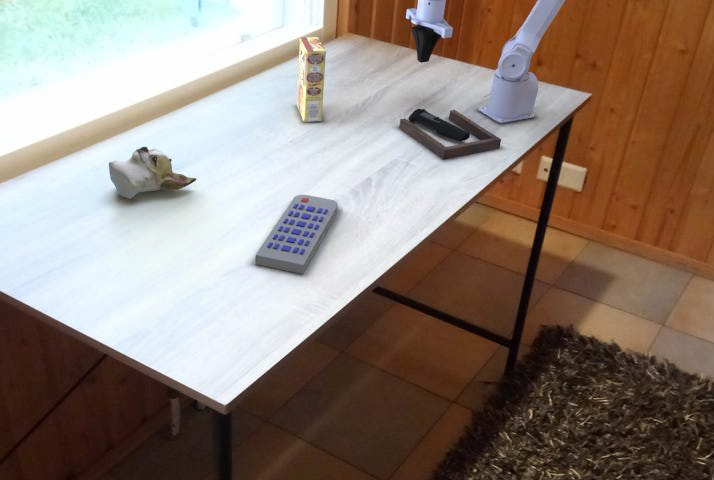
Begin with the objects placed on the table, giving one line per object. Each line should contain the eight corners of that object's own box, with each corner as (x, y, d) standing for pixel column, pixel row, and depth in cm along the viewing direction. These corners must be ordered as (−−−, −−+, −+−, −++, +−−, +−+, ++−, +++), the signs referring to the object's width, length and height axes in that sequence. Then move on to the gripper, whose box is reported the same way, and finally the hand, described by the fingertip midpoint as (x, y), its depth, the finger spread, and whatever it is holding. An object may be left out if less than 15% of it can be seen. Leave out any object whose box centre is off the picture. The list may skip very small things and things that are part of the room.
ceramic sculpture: (95, 142, 143) (170, 128, 151) (97, 187, 148) (169, 171, 156) (122, 166, 137) (199, 150, 144) (123, 212, 142) (197, 195, 149)
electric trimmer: (459, 149, 166) (462, 134, 164) (406, 121, 176) (408, 107, 174) (472, 144, 167) (475, 130, 166) (419, 117, 177) (421, 103, 175)
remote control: (254, 265, 130) (255, 253, 128) (297, 200, 147) (298, 189, 145) (302, 275, 128) (303, 263, 126) (340, 208, 145) (341, 197, 143)
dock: (452, 118, 178) (454, 109, 176) (499, 148, 166) (501, 139, 165) (398, 127, 173) (400, 119, 172) (442, 159, 161) (444, 150, 160)
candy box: (322, 122, 174) (327, 50, 165) (302, 122, 174) (306, 51, 165) (314, 105, 181) (318, 36, 172) (295, 106, 181) (299, 36, 172)
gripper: (397, -11, 174) (389, 52, 182) (436, 8, 164) (426, 74, 172) (425, -14, 177) (416, 48, 185) (465, 4, 166) (454, 70, 174)
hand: (423, 61), depth 179 cm, fingers closed
